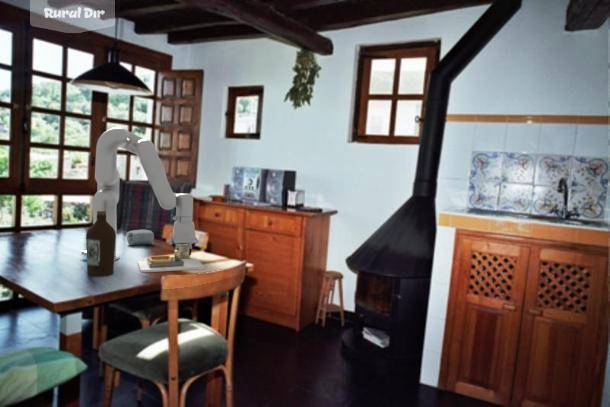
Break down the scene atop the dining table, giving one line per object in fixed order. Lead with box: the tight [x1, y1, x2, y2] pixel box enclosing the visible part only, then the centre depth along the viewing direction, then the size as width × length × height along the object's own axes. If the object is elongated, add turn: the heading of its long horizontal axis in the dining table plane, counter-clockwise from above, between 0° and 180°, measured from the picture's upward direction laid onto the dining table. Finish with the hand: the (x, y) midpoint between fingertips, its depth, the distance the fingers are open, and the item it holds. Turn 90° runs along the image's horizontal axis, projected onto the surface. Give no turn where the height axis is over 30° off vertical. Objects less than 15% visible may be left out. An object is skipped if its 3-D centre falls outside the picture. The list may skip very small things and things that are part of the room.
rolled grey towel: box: [126, 229, 155, 246], centre depth 227 cm, size 14×10×10 cm
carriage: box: [146, 249, 184, 267], centre depth 185 cm, size 14×10×6 cm
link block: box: [178, 243, 190, 259], centre depth 203 cm, size 5×5×6 cm
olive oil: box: [85, 211, 117, 277], centre depth 167 cm, size 11×11×25 cm
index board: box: [136, 258, 205, 273], centre depth 186 cm, size 26×16×1 cm, turn 116°
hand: (182, 256), depth 203 cm, fingers closed on link block, 4 cm apart
